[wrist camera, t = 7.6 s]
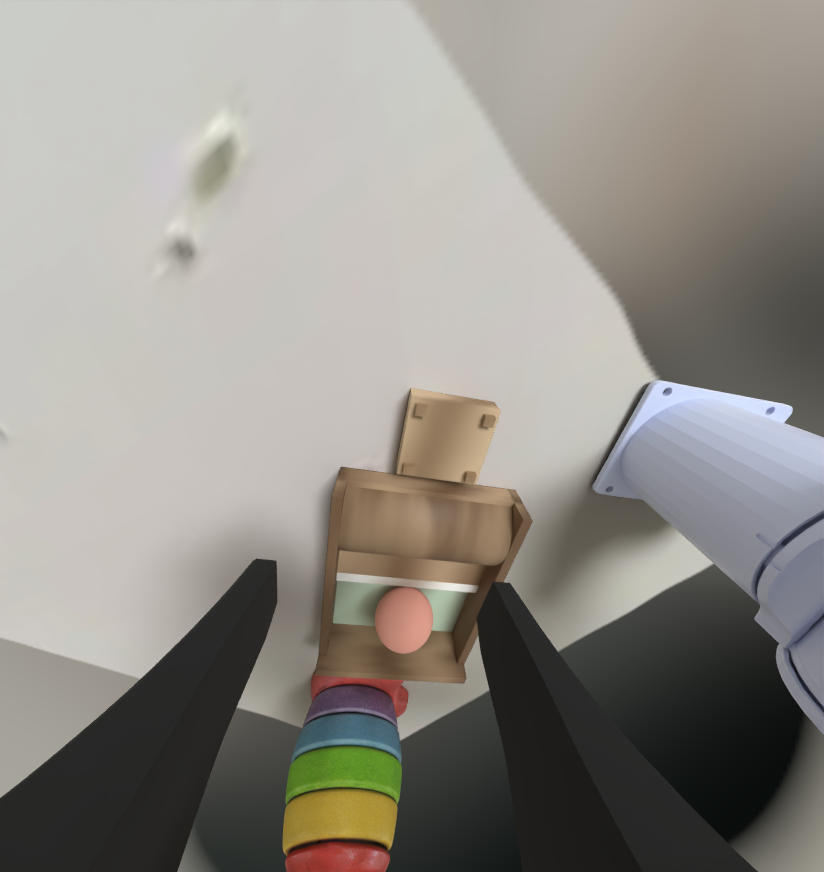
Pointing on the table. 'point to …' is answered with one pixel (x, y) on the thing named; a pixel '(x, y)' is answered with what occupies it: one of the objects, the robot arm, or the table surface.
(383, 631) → the ball
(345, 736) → the stacking bear
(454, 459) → the wooden footed board
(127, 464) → the table surface
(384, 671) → the wooden tray
